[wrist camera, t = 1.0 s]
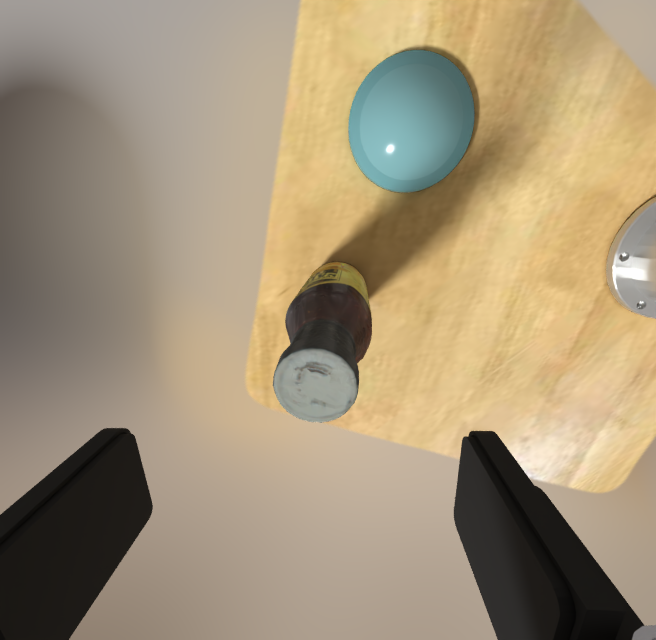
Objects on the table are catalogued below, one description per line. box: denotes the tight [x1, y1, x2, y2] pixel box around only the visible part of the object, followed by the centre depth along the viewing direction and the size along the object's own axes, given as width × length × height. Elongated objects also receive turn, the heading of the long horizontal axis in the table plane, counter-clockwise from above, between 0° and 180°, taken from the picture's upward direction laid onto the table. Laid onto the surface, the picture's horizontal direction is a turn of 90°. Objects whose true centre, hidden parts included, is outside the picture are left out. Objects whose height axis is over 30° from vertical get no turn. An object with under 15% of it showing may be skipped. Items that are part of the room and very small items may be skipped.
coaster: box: [349, 50, 474, 193], centre depth 27 cm, size 11×11×1 cm
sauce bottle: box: [273, 262, 372, 423], centre depth 23 cm, size 6×6×20 cm
